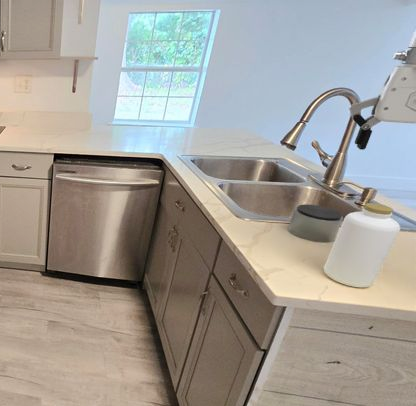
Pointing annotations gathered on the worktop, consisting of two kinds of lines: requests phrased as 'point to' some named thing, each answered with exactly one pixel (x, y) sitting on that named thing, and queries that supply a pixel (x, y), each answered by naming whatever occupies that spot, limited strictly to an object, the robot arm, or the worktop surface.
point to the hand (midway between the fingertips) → (394, 150)
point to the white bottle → (362, 246)
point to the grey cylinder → (315, 223)
